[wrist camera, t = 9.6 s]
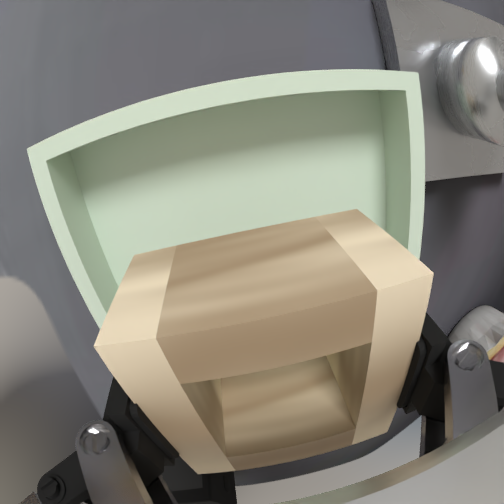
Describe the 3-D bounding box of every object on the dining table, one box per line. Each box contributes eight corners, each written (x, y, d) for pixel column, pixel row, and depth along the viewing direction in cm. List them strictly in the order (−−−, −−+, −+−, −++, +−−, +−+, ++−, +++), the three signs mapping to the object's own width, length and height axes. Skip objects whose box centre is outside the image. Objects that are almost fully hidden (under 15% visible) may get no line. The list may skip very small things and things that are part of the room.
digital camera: (200, 425, 22) (202, 498, 15) (232, 447, 24) (238, 509, 18) (117, 442, 23) (109, 501, 17) (151, 462, 25) (149, 515, 19)
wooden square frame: (134, 254, 9) (93, 345, 5) (356, 208, 9) (433, 272, 5) (206, 412, 13) (210, 485, 9) (350, 380, 13) (379, 447, 9)
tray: (384, 75, 11) (418, 72, 9) (383, 328, 18) (400, 356, 16) (58, 139, 11) (26, 148, 8) (157, 375, 18) (153, 409, 16)
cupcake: (493, 336, 23) (542, 398, 14) (427, 381, 23) (471, 457, 15) (506, 270, 18) (578, 337, 9) (430, 322, 19) (500, 418, 10)
